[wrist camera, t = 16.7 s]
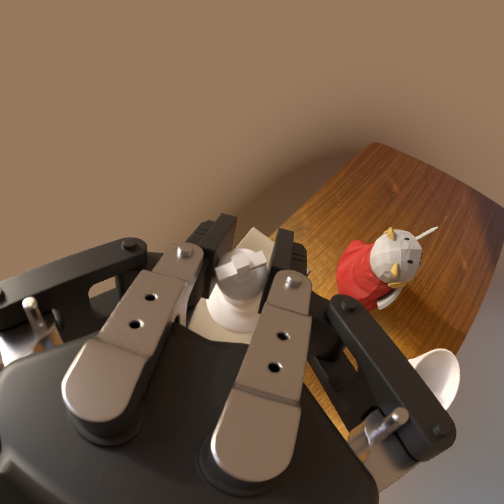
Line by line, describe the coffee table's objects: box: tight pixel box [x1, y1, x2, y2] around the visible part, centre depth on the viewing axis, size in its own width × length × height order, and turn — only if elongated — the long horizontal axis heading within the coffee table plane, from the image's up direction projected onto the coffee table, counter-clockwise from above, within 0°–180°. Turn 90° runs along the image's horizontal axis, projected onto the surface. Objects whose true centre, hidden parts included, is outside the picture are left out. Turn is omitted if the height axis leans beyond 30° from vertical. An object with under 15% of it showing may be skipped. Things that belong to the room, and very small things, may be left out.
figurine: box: [337, 227, 438, 311], centre depth 36 cm, size 13×12×15 cm
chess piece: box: [206, 248, 268, 334], centre depth 13 cm, size 5×5×10 cm
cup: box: [408, 349, 460, 410], centre depth 32 cm, size 10×10×14 cm
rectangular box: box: [190, 227, 310, 344], centre depth 32 cm, size 11×6×20 cm, turn 142°
